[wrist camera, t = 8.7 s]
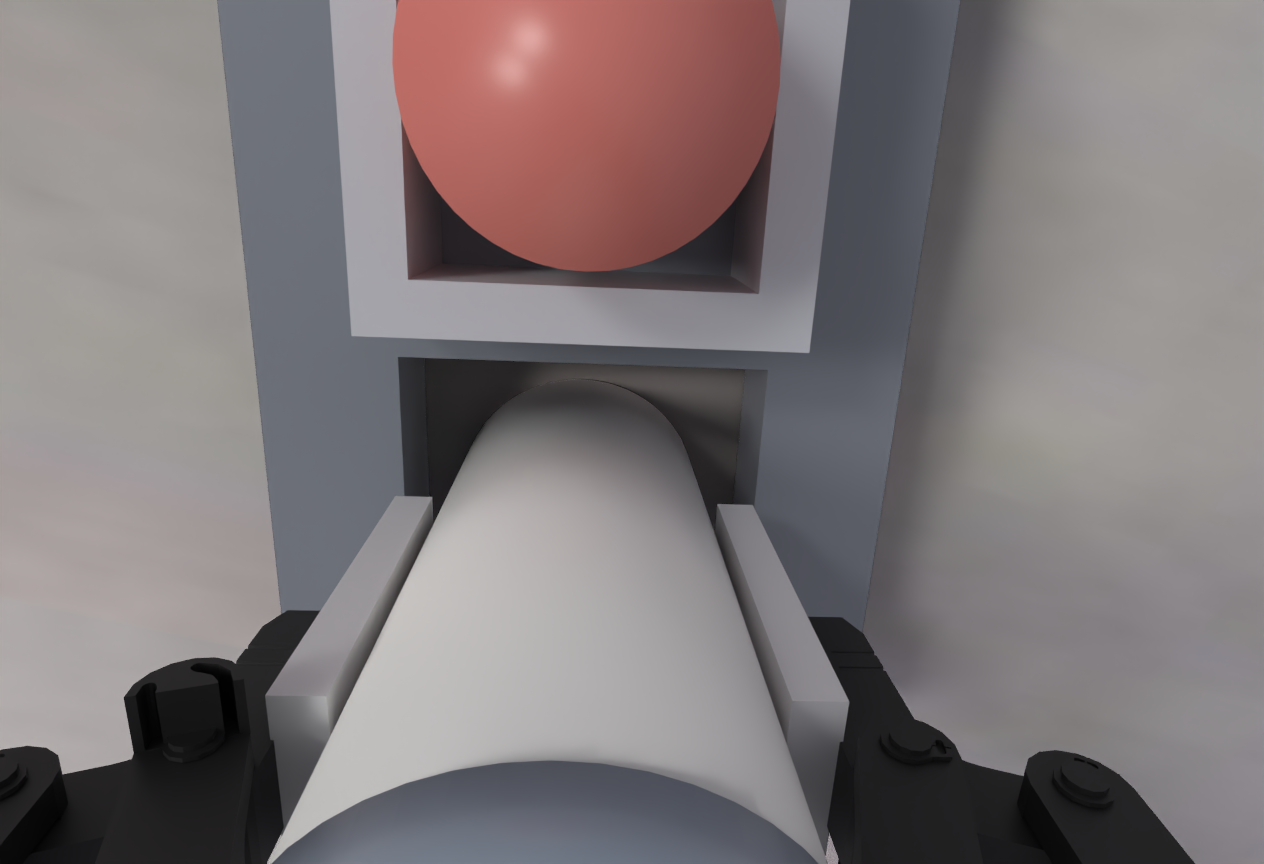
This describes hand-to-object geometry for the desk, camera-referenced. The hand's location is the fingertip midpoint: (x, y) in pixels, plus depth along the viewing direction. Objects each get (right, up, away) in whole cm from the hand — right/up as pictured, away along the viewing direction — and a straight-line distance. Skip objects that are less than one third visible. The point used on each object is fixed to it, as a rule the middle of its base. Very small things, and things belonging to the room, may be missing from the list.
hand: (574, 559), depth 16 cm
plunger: (0, +9, -2) cm, 9 cm away
